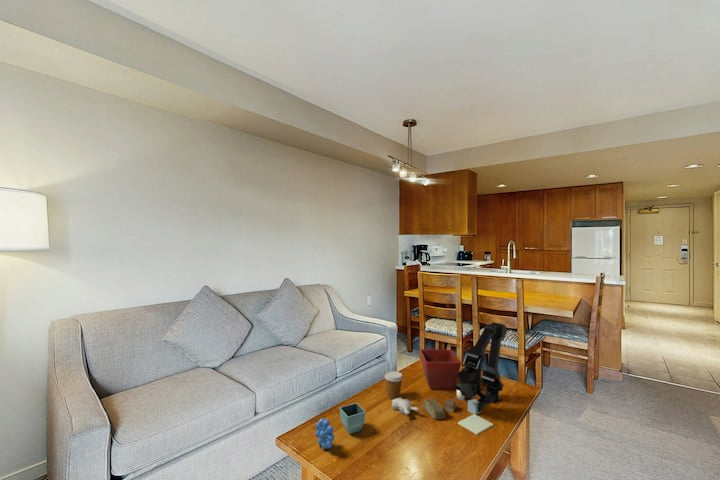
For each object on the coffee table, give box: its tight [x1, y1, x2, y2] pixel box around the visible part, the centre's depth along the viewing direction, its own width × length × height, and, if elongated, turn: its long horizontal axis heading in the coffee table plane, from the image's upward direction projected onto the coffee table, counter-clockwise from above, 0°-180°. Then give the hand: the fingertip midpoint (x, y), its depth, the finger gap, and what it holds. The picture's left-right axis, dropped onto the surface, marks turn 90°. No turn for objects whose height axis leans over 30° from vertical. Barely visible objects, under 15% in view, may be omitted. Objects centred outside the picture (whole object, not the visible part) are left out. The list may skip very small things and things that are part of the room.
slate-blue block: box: [467, 397, 482, 416], centre depth 157 cm, size 4×4×5 cm
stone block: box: [423, 398, 446, 420], centre depth 156 cm, size 6×12×5 cm, turn 19°
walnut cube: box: [444, 398, 457, 413], centre depth 159 cm, size 4×4×4 cm
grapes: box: [314, 417, 336, 450], centre depth 130 cm, size 12×7×12 cm, turn 41°
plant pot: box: [420, 349, 462, 391], centre depth 186 cm, size 19×19×17 cm
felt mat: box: [457, 414, 494, 435], centre depth 147 cm, size 12×10×1 cm
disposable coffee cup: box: [384, 370, 404, 401], centre depth 171 cm, size 10×10×12 cm
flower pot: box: [339, 402, 366, 435], centre depth 142 cm, size 9×9×9 cm
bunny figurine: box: [391, 397, 420, 415], centre depth 158 cm, size 10×5×15 cm
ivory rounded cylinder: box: [456, 389, 466, 401], centre depth 170 cm, size 4×4×5 cm
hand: (474, 409), depth 157 cm, fingers open, 6 cm apart
